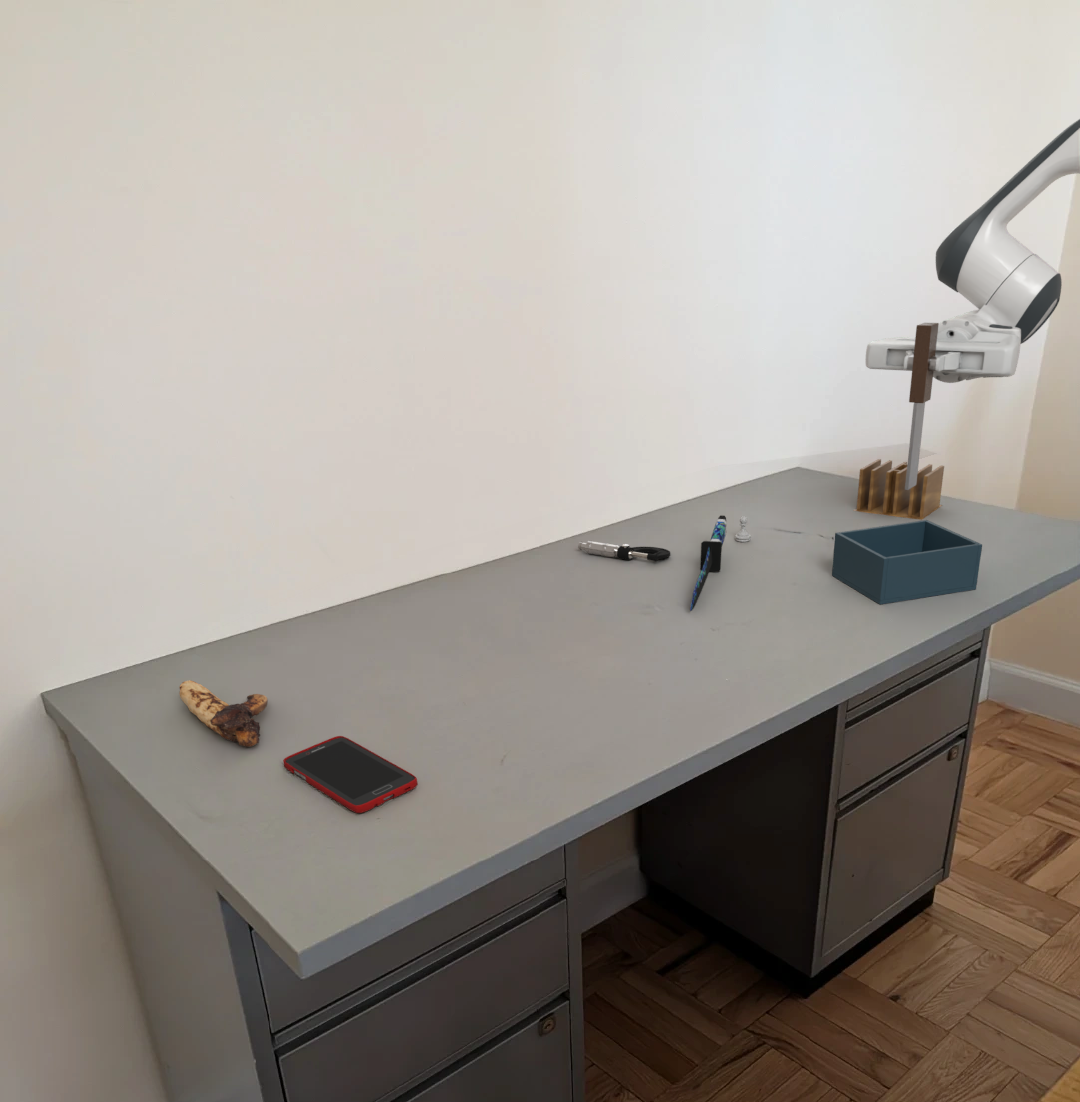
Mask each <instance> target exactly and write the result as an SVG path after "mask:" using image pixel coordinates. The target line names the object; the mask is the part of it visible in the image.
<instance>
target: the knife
mask: <svg viewBox="0 0 1080 1102" xmlns="http://www.w3.org/2000/svg"><path fill="white" fill-rule="evenodd" d="M715 521H716V522H715V525H714V527H713V531H712V534H711V537H710V540H703V541H702V542H701V543H700V560H699V561H700V564H699V570H700V573H699V575H698V577H697V579H696V582H695V585H694V588H693V592H692V597H691V601H690V608H689V610H690V612H692V611H693V610H694V609H695V606H696V605H697V602H698V600H699V598H700V595H701V594H702V592H703V589H704V586H705V584H706V581H707V578H708V576H709V573H711V572H713V573H719V572H721V567H722V552H723V551H722V548H723V545H724V543H725V539H726V536H727V529H728V527H727V525H728V523H727V522H728V521H727V517H726V515H723V514H721V515H718V518H717V519H716V520H715Z"/></svg>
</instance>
